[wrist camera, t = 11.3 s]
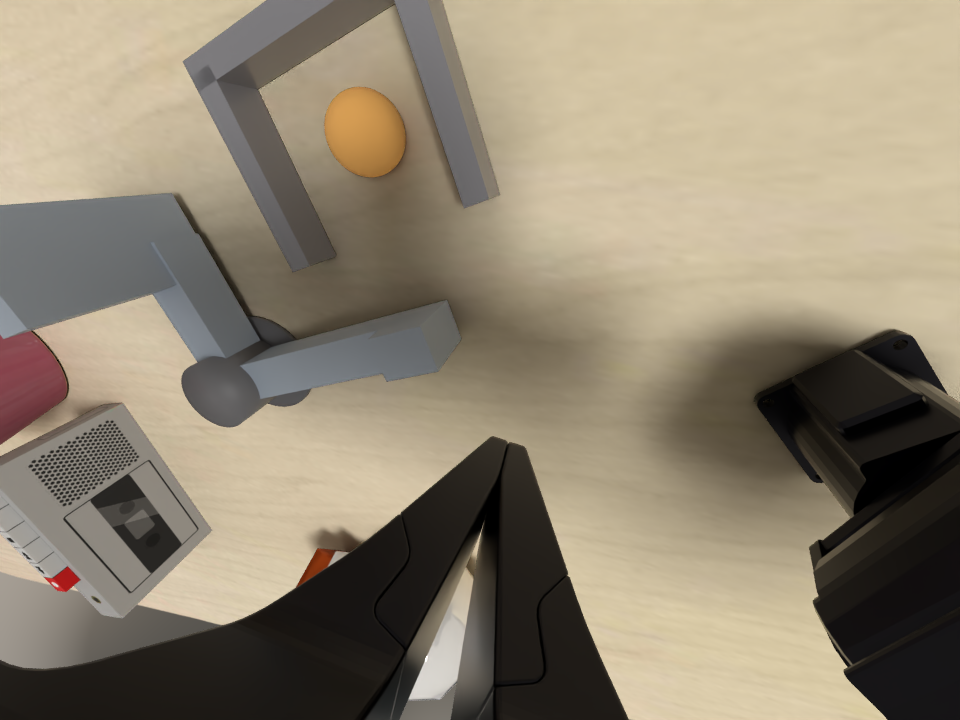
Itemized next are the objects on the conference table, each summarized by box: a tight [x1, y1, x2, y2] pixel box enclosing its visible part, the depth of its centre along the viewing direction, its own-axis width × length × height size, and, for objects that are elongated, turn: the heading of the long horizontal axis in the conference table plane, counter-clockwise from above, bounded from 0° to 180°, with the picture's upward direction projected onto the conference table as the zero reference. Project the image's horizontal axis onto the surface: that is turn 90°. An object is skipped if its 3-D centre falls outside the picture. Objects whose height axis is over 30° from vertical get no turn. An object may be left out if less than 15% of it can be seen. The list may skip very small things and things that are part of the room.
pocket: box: [183, 0, 500, 272], centre depth 18 cm, size 10×11×2 cm
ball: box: [324, 87, 406, 177], centre depth 17 cm, size 4×4×4 cm
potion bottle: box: [296, 548, 474, 701], centre depth 30 cm, size 9×10×15 cm
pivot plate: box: [247, 316, 311, 407], centre depth 27 cm, size 7×7×1 cm
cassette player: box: [0, 403, 212, 618], centre depth 33 cm, size 16×3×10 cm, turn 14°
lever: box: [0, 193, 461, 427], centre depth 19 cm, size 17×14×10 cm
